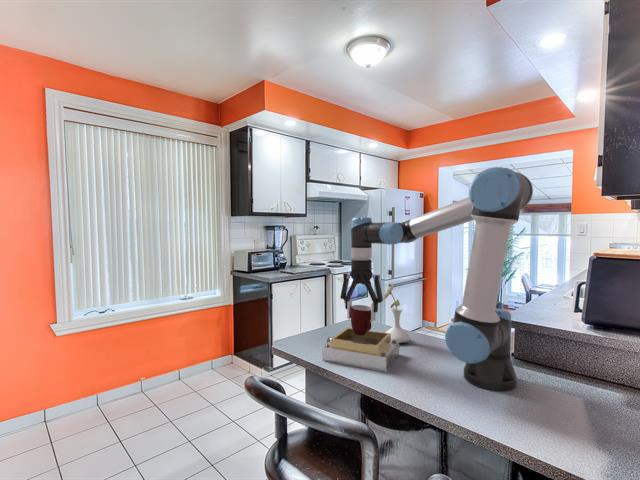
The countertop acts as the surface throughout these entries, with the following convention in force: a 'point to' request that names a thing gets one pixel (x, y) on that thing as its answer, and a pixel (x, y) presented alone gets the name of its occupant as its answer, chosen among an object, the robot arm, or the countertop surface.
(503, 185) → the robot arm
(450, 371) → the countertop surface
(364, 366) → the gold rimmed tray box
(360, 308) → the mug
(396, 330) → the flower in vase
